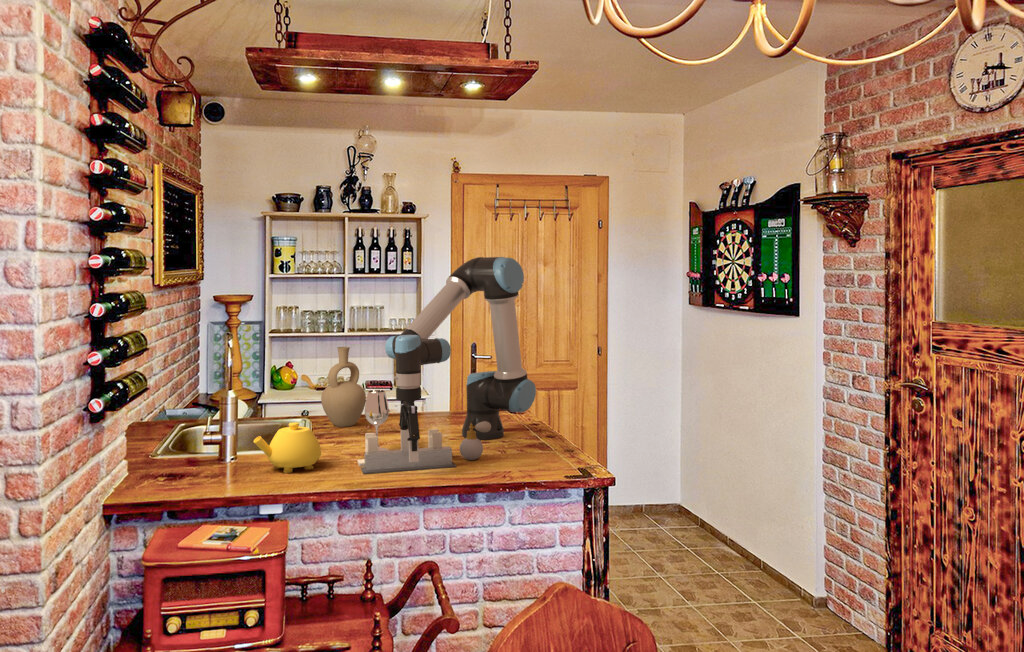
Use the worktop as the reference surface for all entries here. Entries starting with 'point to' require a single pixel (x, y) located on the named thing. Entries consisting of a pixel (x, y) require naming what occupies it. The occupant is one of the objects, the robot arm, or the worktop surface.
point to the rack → (372, 442)
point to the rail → (407, 458)
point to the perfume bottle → (473, 441)
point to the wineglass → (376, 409)
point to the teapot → (291, 448)
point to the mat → (407, 469)
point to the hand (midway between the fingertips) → (409, 456)
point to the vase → (343, 394)
